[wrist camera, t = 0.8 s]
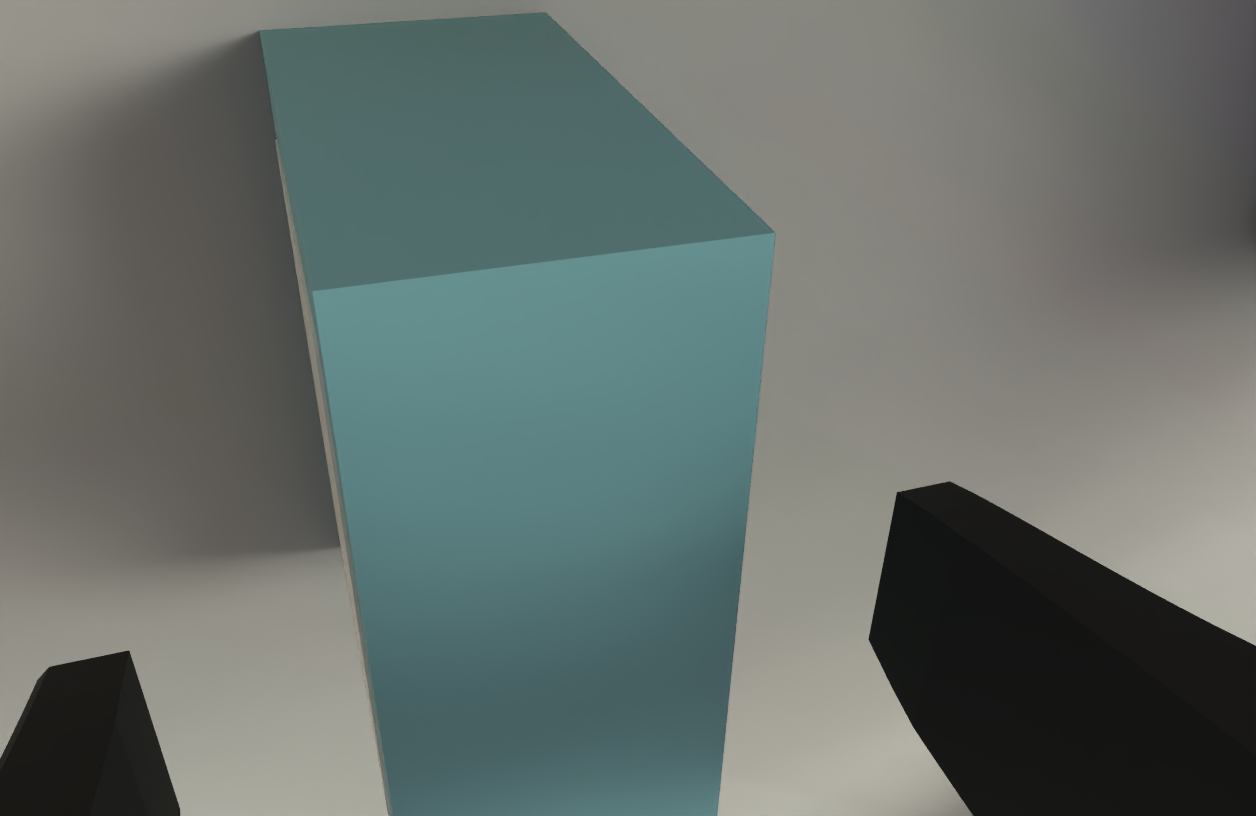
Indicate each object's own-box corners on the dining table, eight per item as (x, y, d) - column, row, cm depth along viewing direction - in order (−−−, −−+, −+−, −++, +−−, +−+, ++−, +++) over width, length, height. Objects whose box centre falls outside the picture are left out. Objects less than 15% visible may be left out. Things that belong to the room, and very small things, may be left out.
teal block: (544, 11, 14) (774, 232, 9) (555, 504, 19) (713, 860, 13) (255, 29, 13) (307, 293, 8) (340, 545, 18) (411, 949, 12)
